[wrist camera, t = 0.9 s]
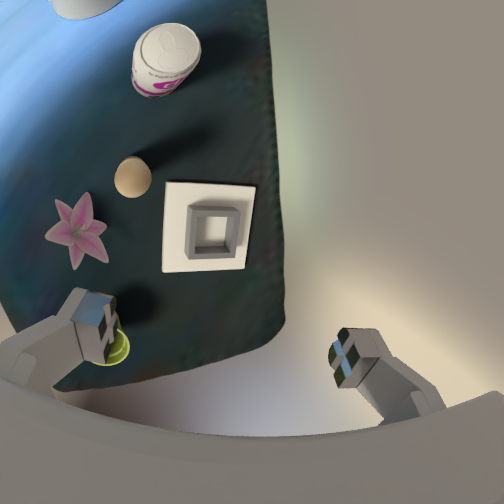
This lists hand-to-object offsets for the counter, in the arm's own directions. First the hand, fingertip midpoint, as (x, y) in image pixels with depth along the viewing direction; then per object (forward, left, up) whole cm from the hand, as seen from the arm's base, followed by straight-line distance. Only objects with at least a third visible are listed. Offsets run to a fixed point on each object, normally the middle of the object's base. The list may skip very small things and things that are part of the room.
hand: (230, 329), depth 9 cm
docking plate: (+8, +11, -40) cm, 42 cm away
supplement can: (-18, -1, -40) cm, 44 cm away
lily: (+7, -11, -40) cm, 42 cm away
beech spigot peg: (-2, -3, -40) cm, 40 cm away
